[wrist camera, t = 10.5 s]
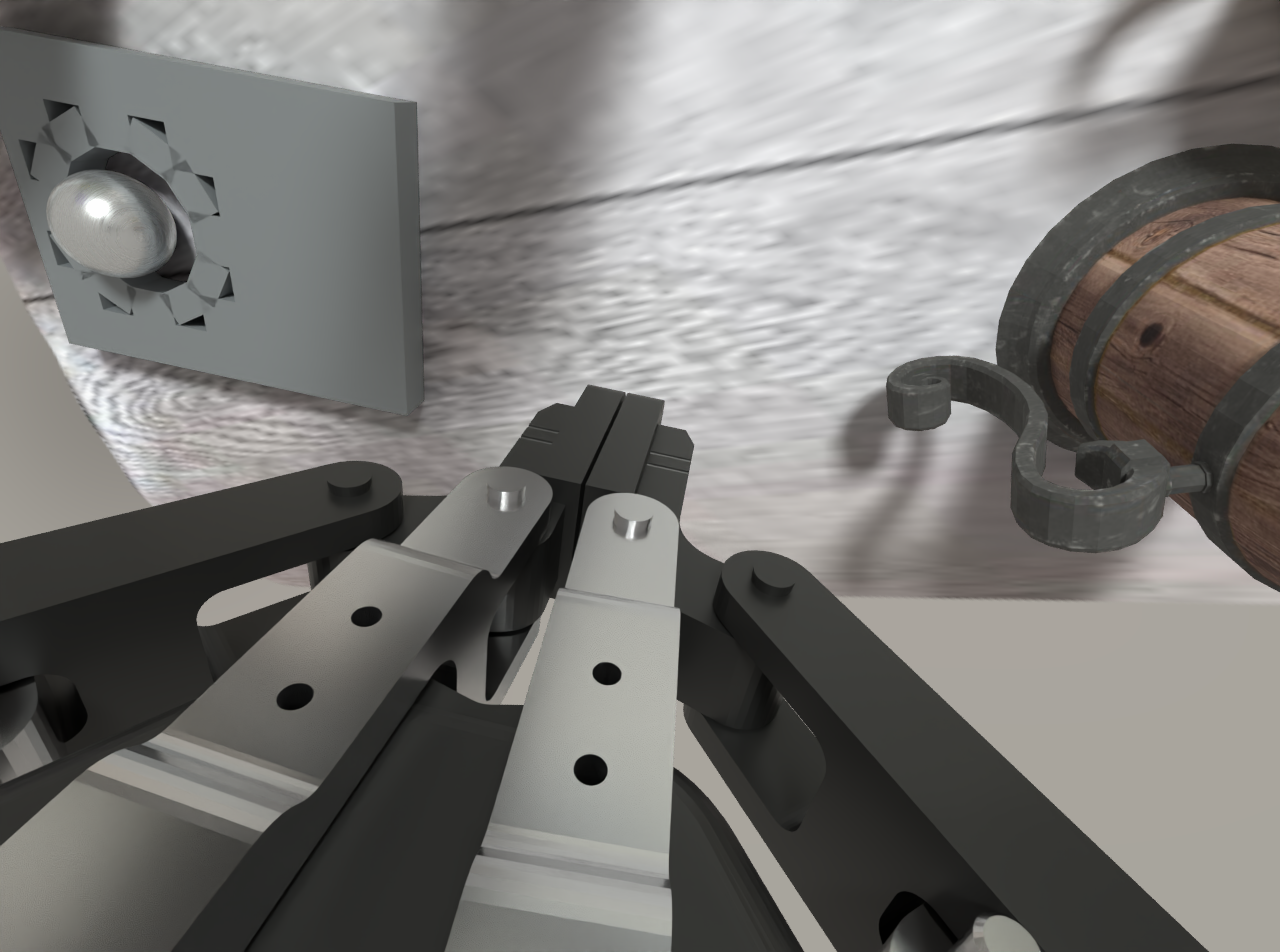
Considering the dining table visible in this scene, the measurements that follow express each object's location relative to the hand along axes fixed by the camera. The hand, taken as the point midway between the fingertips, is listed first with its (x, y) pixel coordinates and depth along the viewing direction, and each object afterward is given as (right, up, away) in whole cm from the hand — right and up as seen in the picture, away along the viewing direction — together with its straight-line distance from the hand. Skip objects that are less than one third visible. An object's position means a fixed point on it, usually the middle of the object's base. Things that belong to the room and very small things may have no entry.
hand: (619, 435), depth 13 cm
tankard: (+26, +7, +23) cm, 35 cm away
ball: (-31, +14, +26) cm, 43 cm away
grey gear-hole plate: (-25, +15, +28) cm, 40 cm away
